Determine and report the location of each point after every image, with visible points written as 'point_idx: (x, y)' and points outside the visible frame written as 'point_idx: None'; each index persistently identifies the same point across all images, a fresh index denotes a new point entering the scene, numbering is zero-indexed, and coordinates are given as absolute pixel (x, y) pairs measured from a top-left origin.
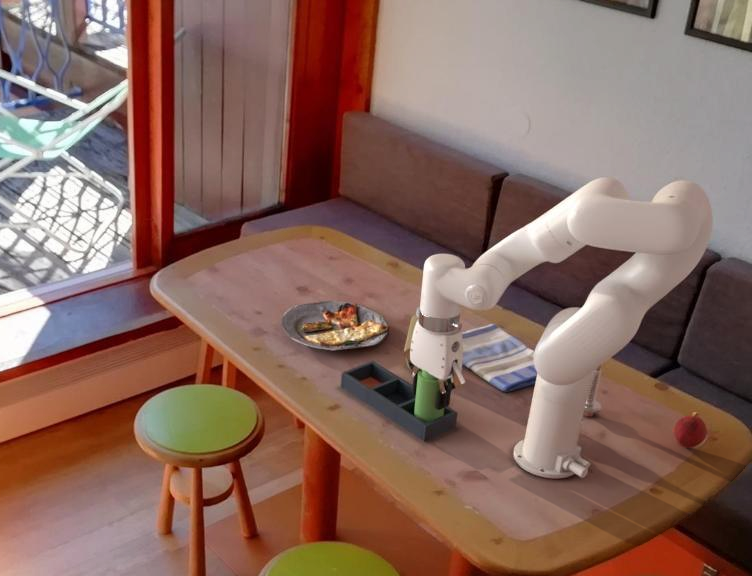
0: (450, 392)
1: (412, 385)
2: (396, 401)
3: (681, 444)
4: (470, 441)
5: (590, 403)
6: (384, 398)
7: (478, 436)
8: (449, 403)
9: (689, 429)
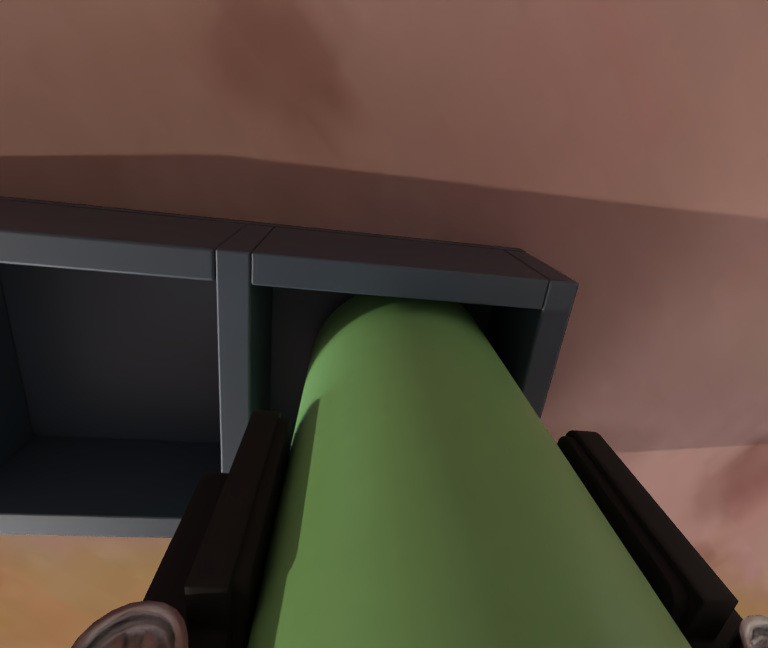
0: (738, 624)
1: (38, 242)
2: (84, 307)
3: None
4: (645, 280)
5: None
6: (102, 528)
7: (663, 203)
8: (602, 438)
9: None
